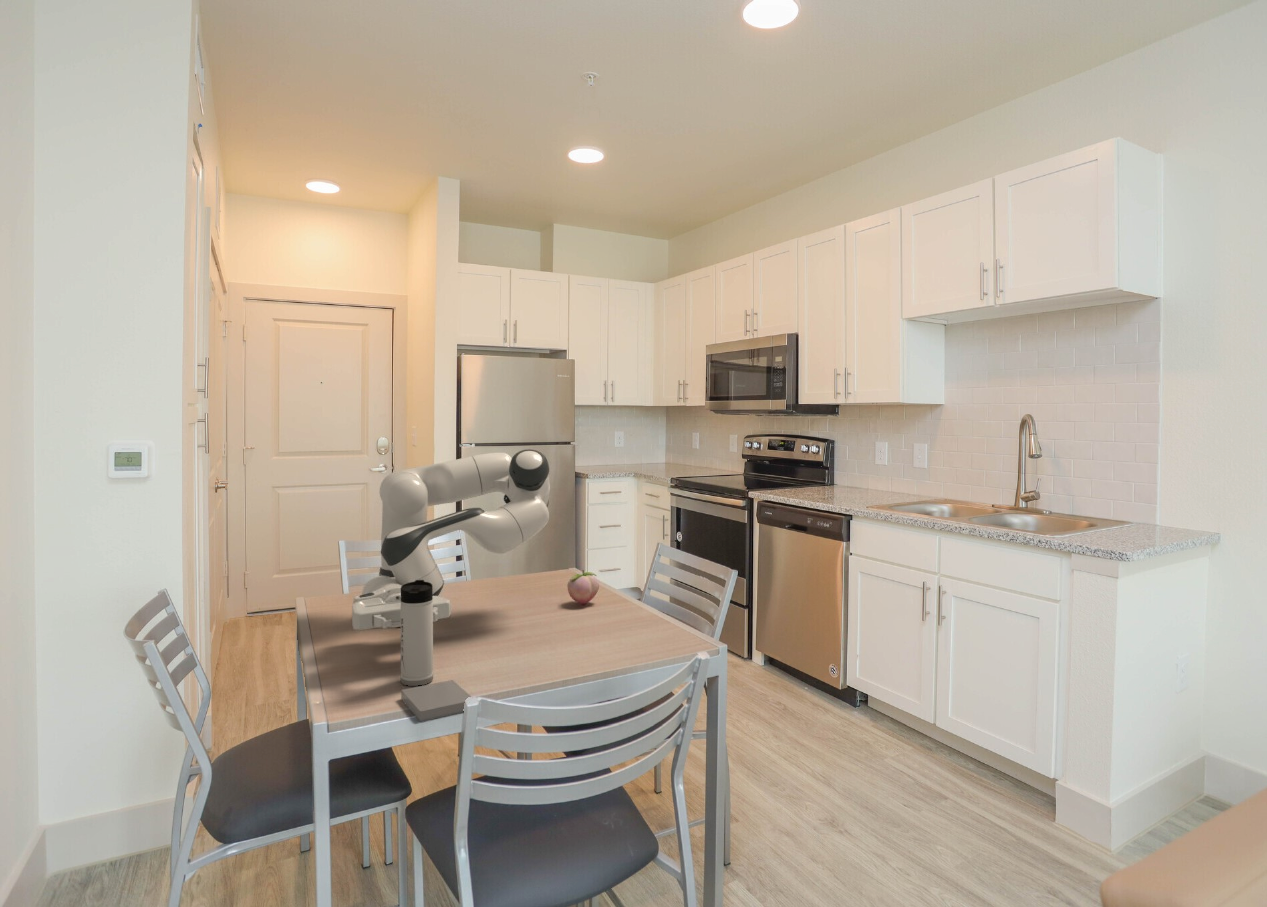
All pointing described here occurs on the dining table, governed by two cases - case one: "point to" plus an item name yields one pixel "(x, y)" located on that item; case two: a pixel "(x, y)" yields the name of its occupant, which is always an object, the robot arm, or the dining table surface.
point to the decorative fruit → (583, 587)
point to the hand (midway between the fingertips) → (411, 621)
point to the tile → (435, 700)
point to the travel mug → (416, 633)
